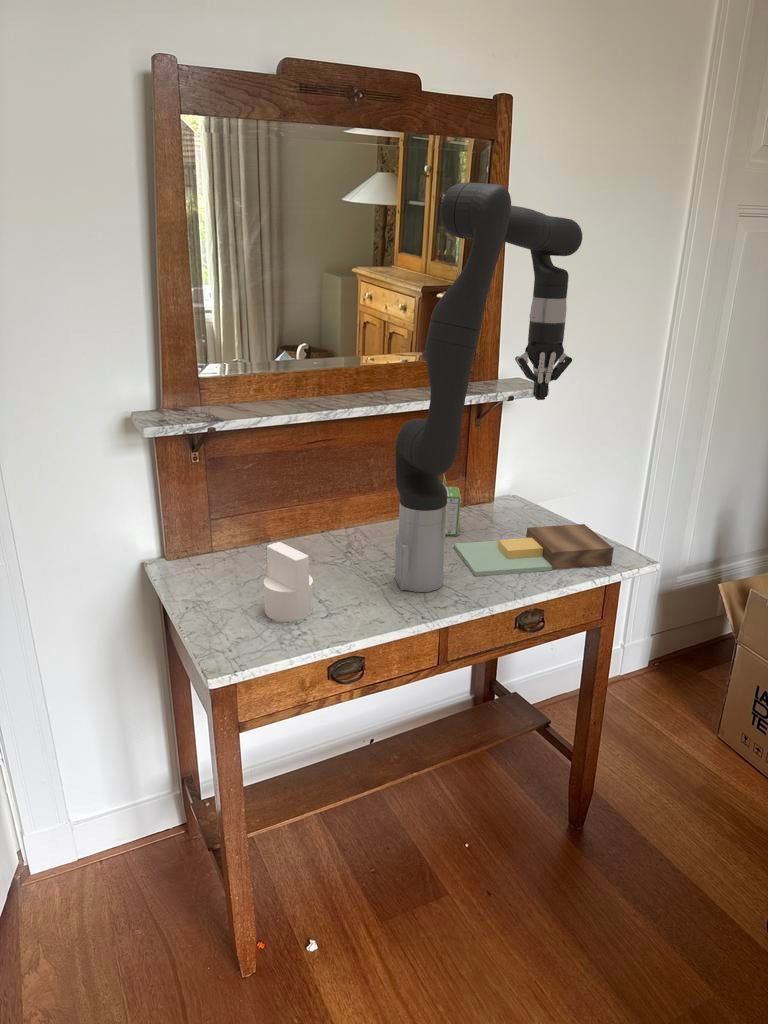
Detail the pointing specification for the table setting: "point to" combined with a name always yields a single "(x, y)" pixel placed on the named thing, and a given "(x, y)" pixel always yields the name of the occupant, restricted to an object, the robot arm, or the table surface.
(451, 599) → the table surface
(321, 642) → the table surface
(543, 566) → the mat
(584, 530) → the brown wooden block
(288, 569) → the base with upright slab
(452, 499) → the ink box
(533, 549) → the tile
